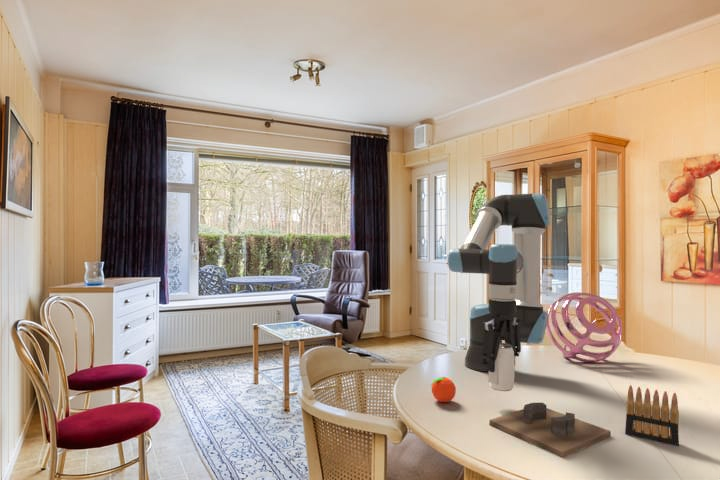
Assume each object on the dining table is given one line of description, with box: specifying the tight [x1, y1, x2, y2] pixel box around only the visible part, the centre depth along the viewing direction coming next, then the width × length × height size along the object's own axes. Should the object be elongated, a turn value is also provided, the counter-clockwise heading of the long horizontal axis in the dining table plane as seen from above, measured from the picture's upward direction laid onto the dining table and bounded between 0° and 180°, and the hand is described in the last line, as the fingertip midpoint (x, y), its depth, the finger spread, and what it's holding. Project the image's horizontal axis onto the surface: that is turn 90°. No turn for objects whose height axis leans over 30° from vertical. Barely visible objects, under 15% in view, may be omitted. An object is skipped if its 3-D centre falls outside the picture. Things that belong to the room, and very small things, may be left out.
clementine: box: [430, 376, 457, 403], centre depth 128 cm, size 8×7×7 cm
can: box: [489, 342, 515, 392], centre depth 124 cm, size 6×6×12 cm
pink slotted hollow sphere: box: [546, 291, 623, 363], centre depth 178 cm, size 28×28×27 cm
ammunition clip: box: [624, 384, 680, 447], centre depth 106 cm, size 11×2×12 cm, turn 56°
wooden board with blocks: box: [488, 402, 612, 458], centre depth 109 cm, size 20×20×5 cm
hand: (501, 380), depth 124 cm, fingers closed on can, 6 cm apart
